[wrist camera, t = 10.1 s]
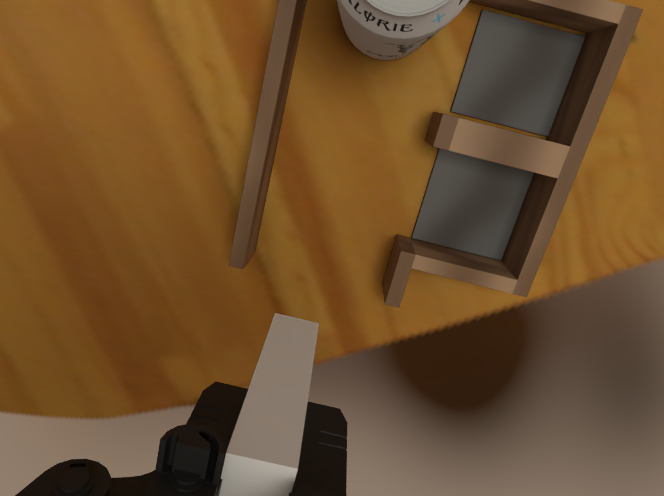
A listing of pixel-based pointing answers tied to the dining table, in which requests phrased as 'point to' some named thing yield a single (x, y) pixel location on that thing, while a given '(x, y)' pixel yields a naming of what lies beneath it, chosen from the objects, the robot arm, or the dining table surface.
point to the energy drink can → (395, 24)
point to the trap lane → (479, 140)
